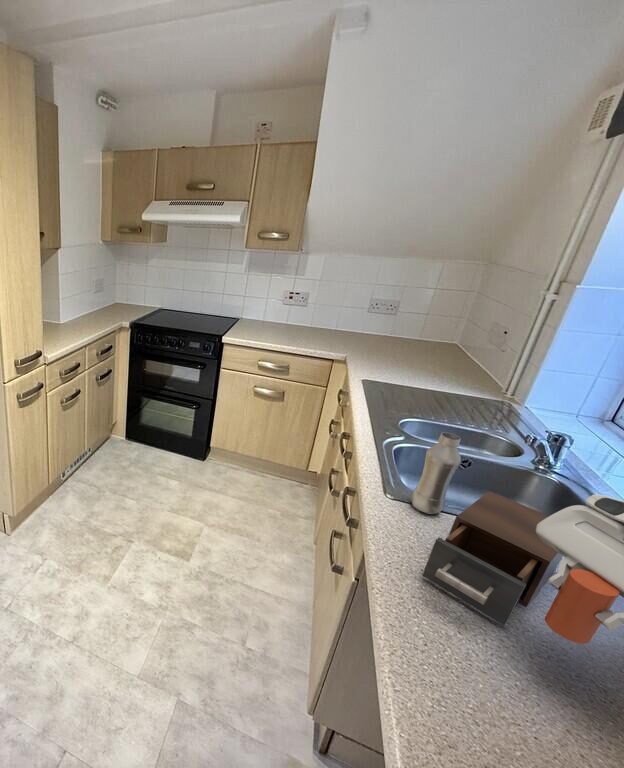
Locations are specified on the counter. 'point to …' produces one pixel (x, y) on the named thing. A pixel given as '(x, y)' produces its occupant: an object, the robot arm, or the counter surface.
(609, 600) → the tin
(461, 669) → the counter surface
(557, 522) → the robot arm
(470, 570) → the drawer
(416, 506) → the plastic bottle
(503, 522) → the cabinet
